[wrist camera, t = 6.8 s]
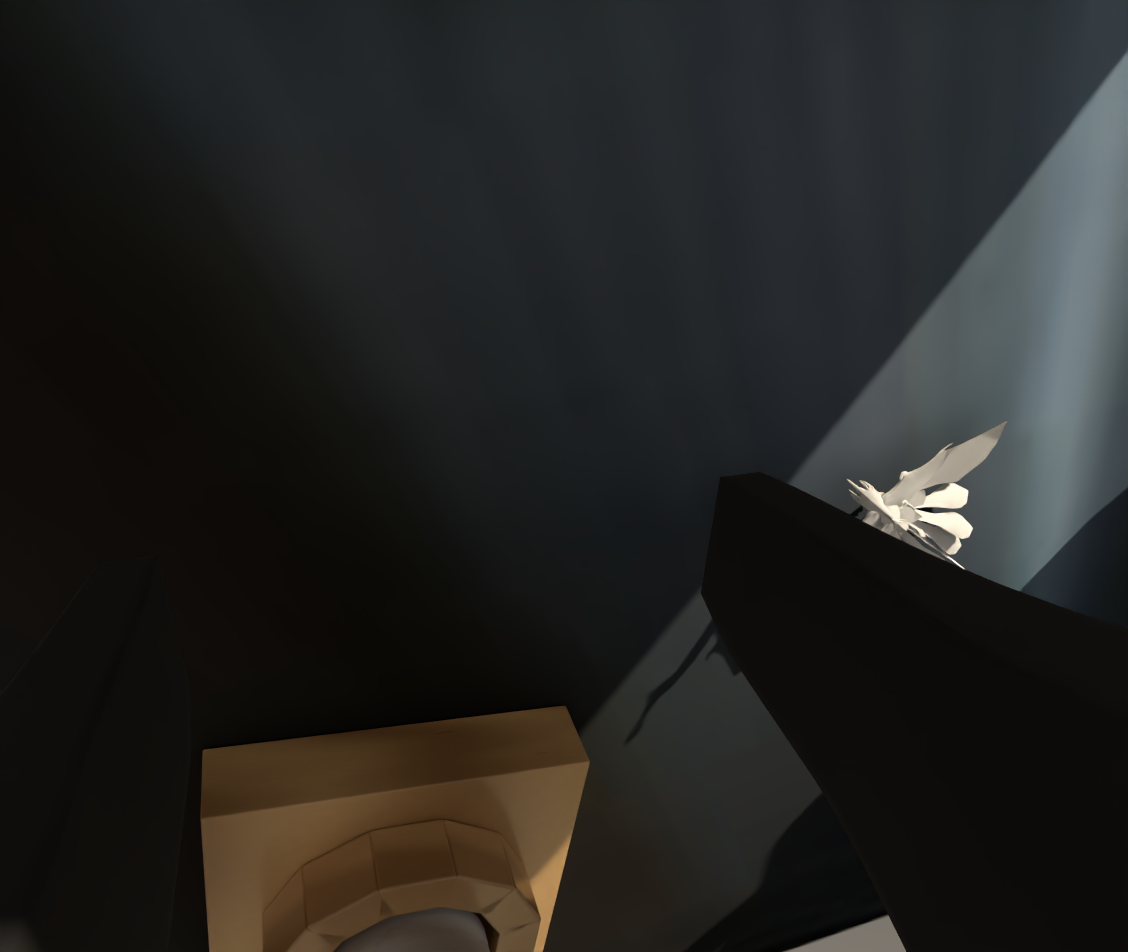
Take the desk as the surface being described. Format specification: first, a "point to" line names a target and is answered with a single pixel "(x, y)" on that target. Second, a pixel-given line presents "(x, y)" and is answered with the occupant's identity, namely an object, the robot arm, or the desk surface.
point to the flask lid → (422, 933)
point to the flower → (929, 497)
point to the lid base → (390, 830)
